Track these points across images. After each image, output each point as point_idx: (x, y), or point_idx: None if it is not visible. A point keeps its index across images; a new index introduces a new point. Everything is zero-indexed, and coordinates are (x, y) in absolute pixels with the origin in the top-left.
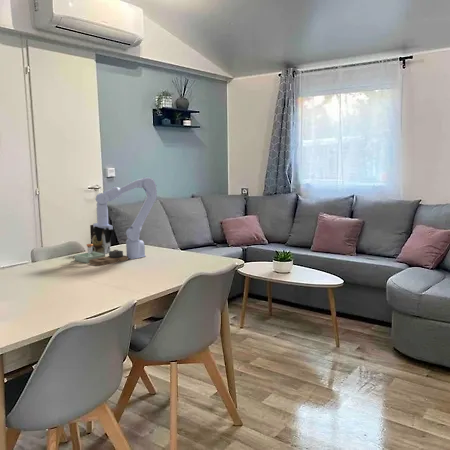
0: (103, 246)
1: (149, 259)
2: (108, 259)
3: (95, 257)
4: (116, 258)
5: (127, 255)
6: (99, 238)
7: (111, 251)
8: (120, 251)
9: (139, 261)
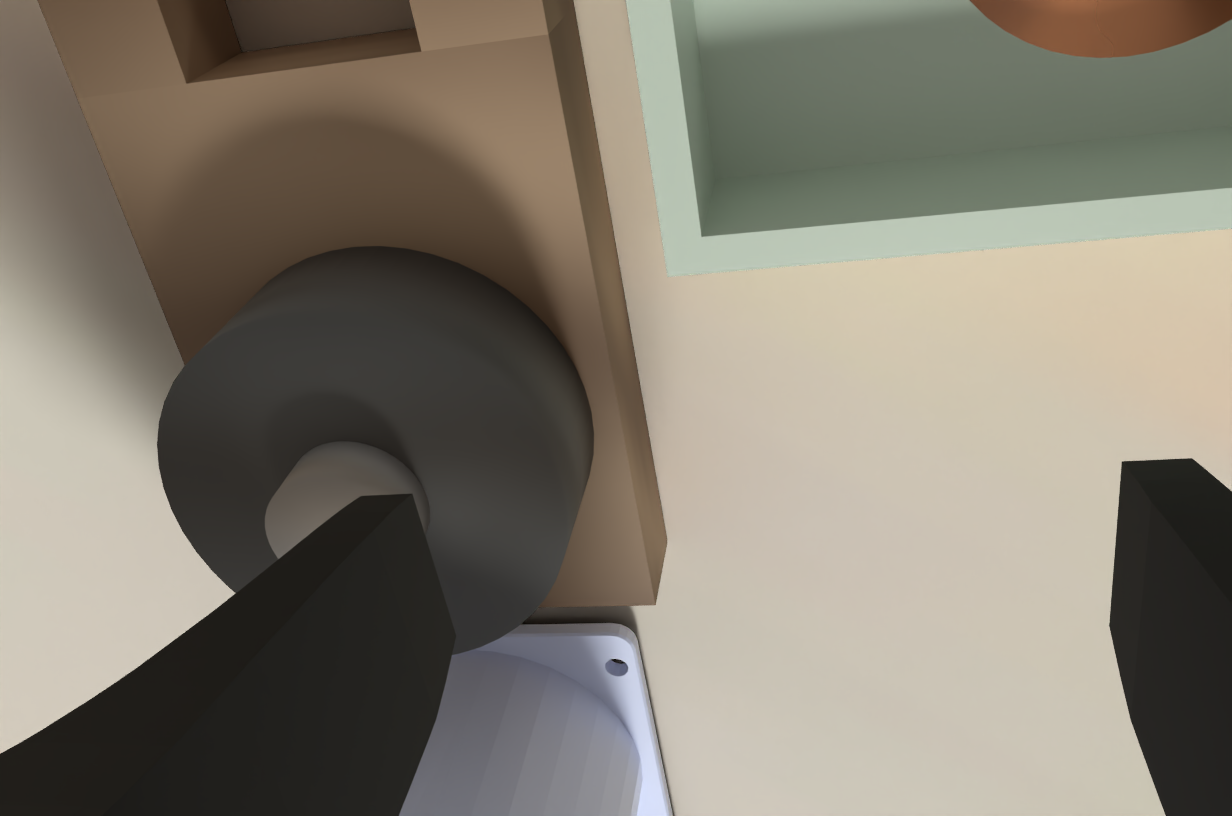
0: None
1: None
2: (128, 69)
3: None
4: (162, 306)
5: (474, 681)
6: (1157, 644)
7: (506, 452)
8: None
9: (67, 613)
